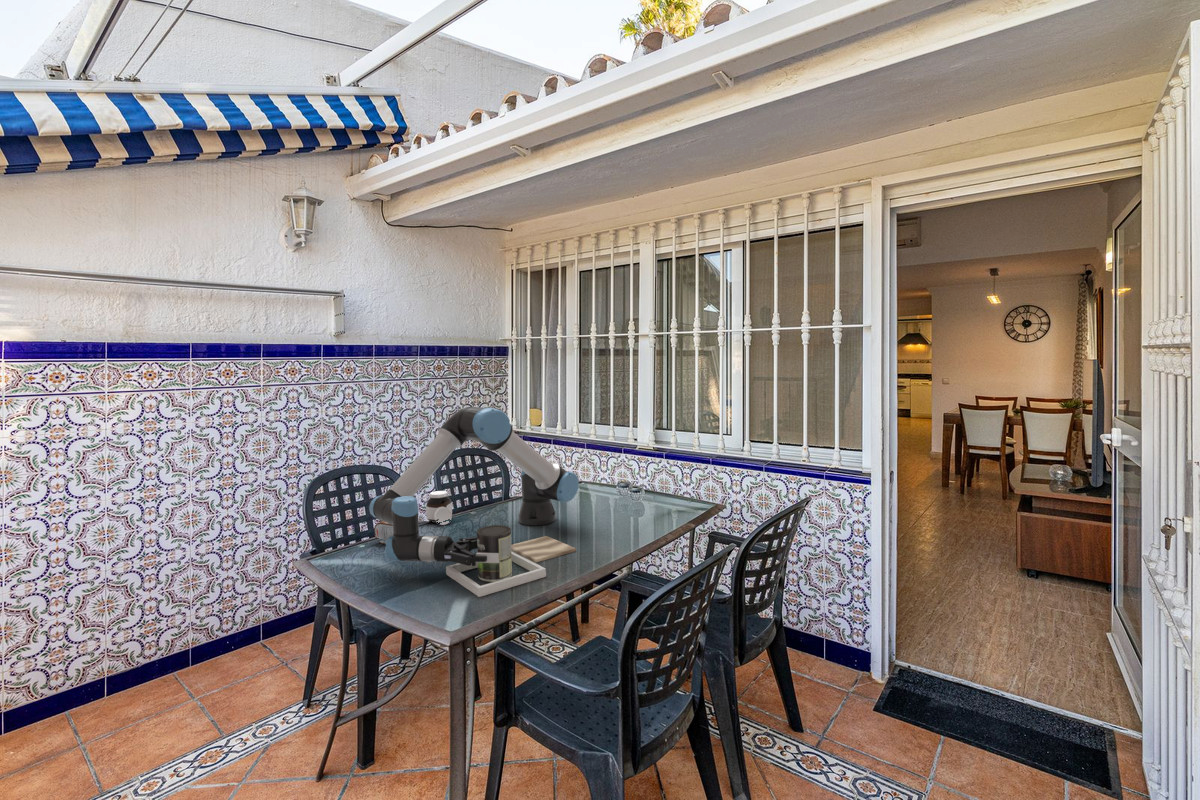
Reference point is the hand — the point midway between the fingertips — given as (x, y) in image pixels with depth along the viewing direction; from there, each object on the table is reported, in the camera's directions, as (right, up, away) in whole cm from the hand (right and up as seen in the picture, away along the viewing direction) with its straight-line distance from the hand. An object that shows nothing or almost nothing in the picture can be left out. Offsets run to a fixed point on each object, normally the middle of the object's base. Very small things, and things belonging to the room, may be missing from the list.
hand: (505, 550), depth 170 cm
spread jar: (-36, -5, +59) cm, 69 cm away
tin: (-46, -7, +32) cm, 56 cm away
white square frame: (-3, -8, +1) cm, 9 cm away
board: (+9, -6, +23) cm, 25 cm away
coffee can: (-3, -8, +1) cm, 9 cm away
